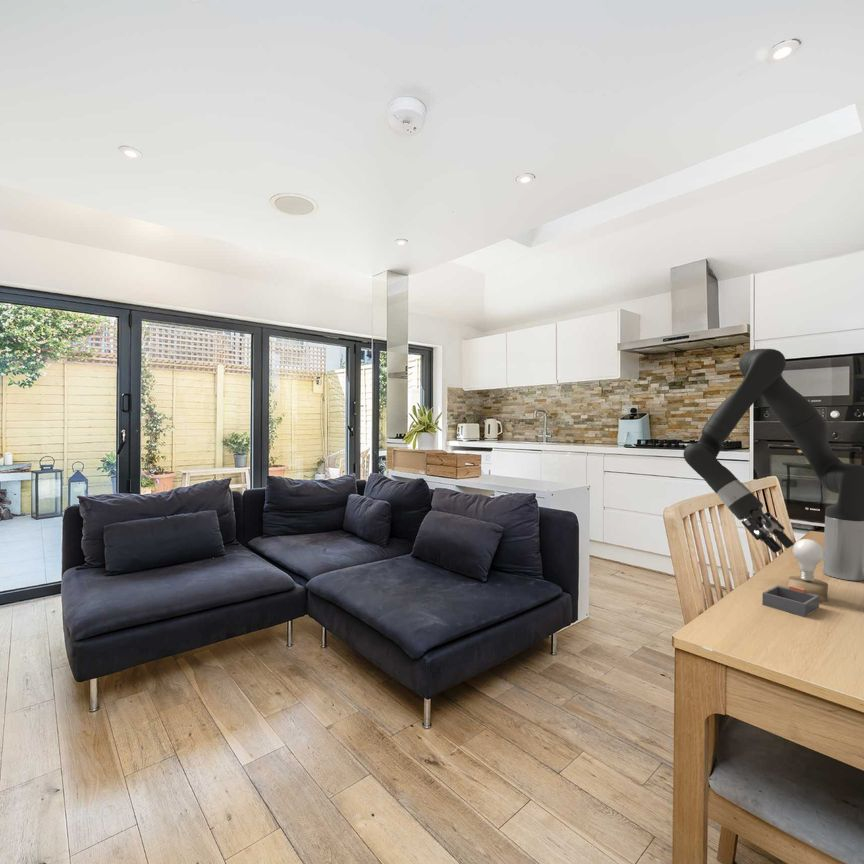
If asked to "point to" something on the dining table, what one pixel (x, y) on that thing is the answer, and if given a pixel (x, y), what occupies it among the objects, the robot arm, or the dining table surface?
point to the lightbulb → (807, 557)
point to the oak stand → (811, 587)
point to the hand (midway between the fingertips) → (784, 548)
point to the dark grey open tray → (791, 600)
